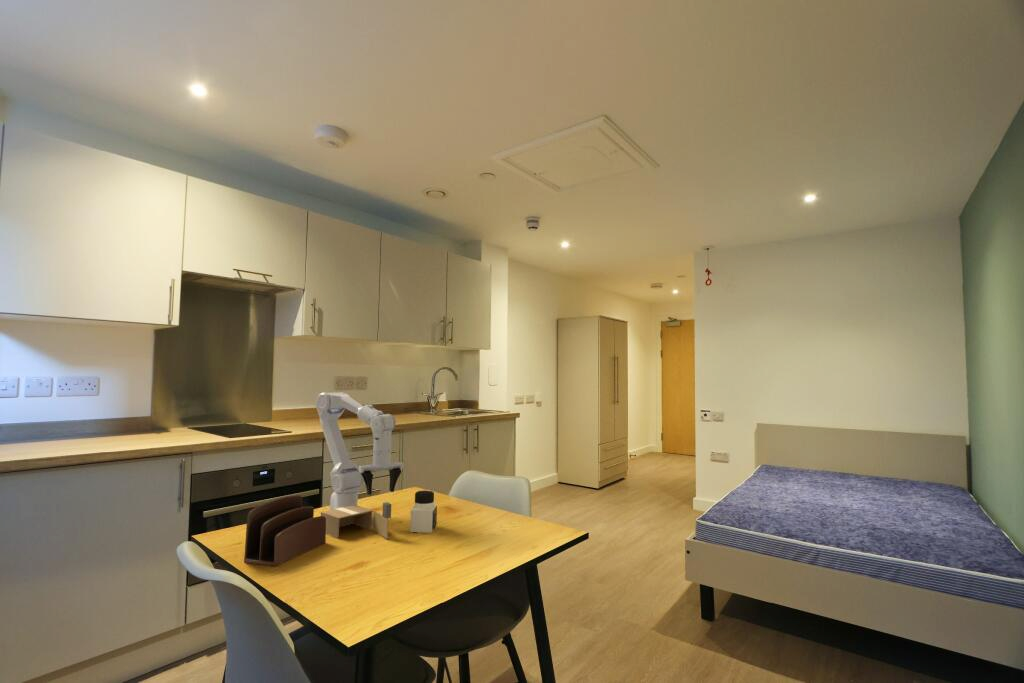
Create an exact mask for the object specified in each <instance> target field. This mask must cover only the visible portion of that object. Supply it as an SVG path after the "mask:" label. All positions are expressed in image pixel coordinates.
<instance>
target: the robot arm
mask: <svg viewBox="0 0 1024 683" xmlns="http://www.w3.org/2000/svg"><path fill="white" fill-rule="evenodd" d="M314 405H315V408H316V411H317V414H318V417H319V423H320V426H321V429H322V432H323V435H324V439H325V441H326V442H325V443H326V445H327V448H328V451H329V454H330V458H331V460H332V463H333V468H332V470H331V471H330V472H329V475H330V485H331V488H332V489H333V493H332V494H331V496H330V501H329V502H330V504H329V510H333V509H336V508H341V507H347V506H352V505H357V506H358V504H359V503H358V500H359V498H358V496H359V491H360V490H361V488H360V487H362V486H363V484H365V488H366V494H367V495H369V496H371V495H372V493H373V489H372V488H373V487H372V486H373V477H374V474H373V473H372V472H379V471H388V472H389V486H388V487H389V488H388V489H389V492H391V493H394V492H395V489H396V488H395V487H396V485H397V482H398V479H399V477H400V475H401V474H402V469H404V462H402V461H401V462H400V461H399V462H392V461H391V460H392V458H391V456H392V435H393V434H392V431H394V429H395V428H396V418H395V417H394V415H393V414H391V413H385V414H384V412H383V411H382V410H378V409H376V408H375V407H374V405H372V404H365V405H362V404H361V403H360V402H358V401H357V400H355V399H353V398H352V397H350V395H349V394H348V393H346V392H343V391H341V392H321V393H319V394H318V396H317V398H316V401H315V403H314ZM345 410H347V411H350V412H351V413H353V414H356V415H357V419H358V420H359V421H361V422H363V423H364V424H365V425H368V426H369V428H370V429H371V431H372V437H373V444H372V446H373V449H372V450H373V451H372V463H370V464H365V465H363V464H362V465H359V466H358V464H356V463H355V462H353V461H351V459H350V456H349V453H348V450H347V447H346V444H345V441H344V438H343V436H342V435H343V434H342V433H341V429H340V426H339V424H338V419H339V418H340V417H341V416H342V415H343V413H344V411H345Z"/></svg>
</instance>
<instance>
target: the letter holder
mask: <svg viewBox="0 0 1024 683" xmlns="http://www.w3.org/2000/svg"><path fill="white" fill-rule="evenodd" d="M314 510H315V508H314V506H303V496H302V495H301V494H299V495H298V494H295V495H288V496H283V497H280V498H277V499H273V500H270V501H268V502H265V503H263V504H262V503H261V505H258V506H256V507H254V508H252V509H251V510H249V511H248V513H247V517H246V518H247V519H246V528H245V530H246V531H245V544H244V558H243V561H244V563H246V564H252V565H259V566H260V565H261V566H267V567H274V568H275V567H278V566H279V565H281V564H284V563H285V562H288V561H291V560H293V559H295V558H297V557H299V556H301V555H303V554H304V553H307V552H309V551H311V550H314V549H315V547H316V548H318V547H319V545H320V546H322V545H324V544H326V543H327V541H326V538H327V537H326V535H327V534H326V517H325V516H321V515H320V516H319V515H318V516H315V517H314V514H315V511H314ZM321 544H322V545H321ZM317 546H318V547H317ZM313 548H314V549H313ZM302 553H303V554H302ZM300 554H301V555H300ZM298 555H299V556H298ZM296 556H297V557H296Z"/></svg>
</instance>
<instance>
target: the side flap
mask: <svg viewBox="0 0 1024 683" xmlns="http://www.w3.org/2000/svg"><path fill="white" fill-rule="evenodd" d="M391 518H392V503H390V502H388V501H385V502H382V514H381V513H380V512H378V511H376V510H373V512H372V530H374V531H375V532H376V533H377V534H379V535H380V536H382V537H383V538H384V539H387V540H388V537H389V536H388V535H389V519H391Z"/></svg>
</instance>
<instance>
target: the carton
mask: <svg viewBox="0 0 1024 683" xmlns="http://www.w3.org/2000/svg"><path fill="white" fill-rule="evenodd" d="M373 511H374V510H372V509H370V508H366V507H363V506H361V505H358V504H357V505H352V506H347V507H341V508H336V509H333V510H330V509H329V510H325V511H321V512H320V516H325V517H326V533H327V534H329V535H328V536H330V535H331V536H330V537H332V536H333V537H332V538H335V537H336V538H335V539H337V538H338V539H340V536H339V535H340V534H339V533H340V528H342V527H341V526H343V527H347V526H346V525H348V526H351V525H350V524H352V525H355V524H356V525H355V526H358V525H359V526H358V527H361V528H364V529H366V530H370V531H372V530H373ZM327 534H326V535H327Z"/></svg>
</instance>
